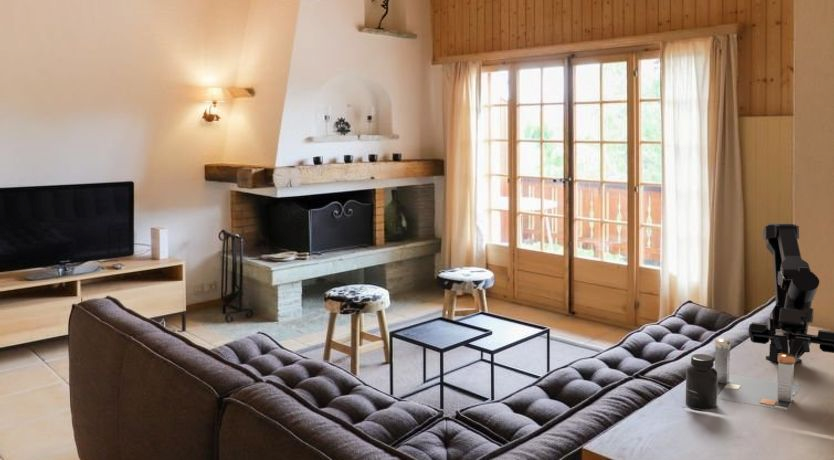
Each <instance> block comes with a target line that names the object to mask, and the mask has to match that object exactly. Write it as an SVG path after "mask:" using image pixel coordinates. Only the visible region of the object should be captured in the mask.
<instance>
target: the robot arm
mask: <svg viewBox="0 0 834 460" xmlns="http://www.w3.org/2000/svg"><path fill="white" fill-rule="evenodd" d="M762 229H763V230H762V239H763V240H765V247H766V249H767V250H768V251H769V253H771V255H772V263H773V279H774V294H775V295H774V296H775V298H774V299H775V305H774V307H773V309H772V310H771V312H770V314H769V317H768V319H767V321H766V323H762V322H761V323H760V322H754V321H752V323H750V324H749V326H748V331H747V332H748V334H749V339H750V342H752V343H755V344H762V345H766V344H767V343H769V342H770V343H769V355H767V356H765V359H767V360H769V361H773V362H775V363H779V362H778V354H779V353H790V354H793V355H795V364H796V363H802V361H803V359H802V358H801V357H802V356H803V355H805V353H810V352H811V347H810V346H811V344H816V345H819V349H820V351H822V352H824V353H830V354H832V353H833V354H834V330H832V331H831V330H825V329H818V332H817V335H816V334H810V333H809V334H808V329H809V324H810V323H811V324H813V322H814V311H815V310H814V308H812V303H813V301H814V298H815V296H816V293H817V290H818V288H819V285H820V279H819V278H818V276H817V275H816V274H815V273H814V271H811V267H810V264H809V263H808V262H807V261H806V260H804V259H803V258H802V255H801V250H800V245H799V241H798V240H800V226H799V225H796V224H795V223H789V222H788V223H787V222H786V223H785V222H784V223H779V222H778V223H773V222H772V223H767V225H765V226H763V228H762Z"/></svg>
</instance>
